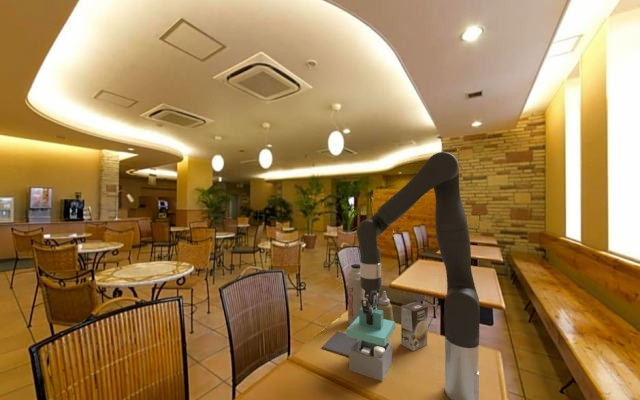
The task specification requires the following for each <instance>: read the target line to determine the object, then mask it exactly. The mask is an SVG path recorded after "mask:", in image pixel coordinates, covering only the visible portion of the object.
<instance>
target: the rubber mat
mask: <svg viewBox="0 0 640 400" xmlns="http://www.w3.org/2000/svg"><path fill="white" fill-rule="evenodd" d="M357 340H358V339H355V338H351V337H347V336H346V332H342V331H336V332H335V333H334V334H332V336H331V337H330V338H329V339H328V340H327V341H326V342H325V343H324V344H323V345H322V346H321V349H322V350H327V351H328V352H333V353H335V354H338V355H341V356H345V357H347V358H349V350H350V349H351V348H352V346H353V345H354V344H355V342H356V341H357Z"/></svg>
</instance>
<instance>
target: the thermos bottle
mask: <svg viewBox="0 0 640 400" xmlns="http://www.w3.org/2000/svg"><path fill="white" fill-rule="evenodd" d="M350 267H351V270H350V271H349V273H348V276H347V298H348V299H347V313H348V315H347V321H348V322H347V323H348V325H349V326H350V325H351V324H352V323H353V322H354V320H355V319H356V318H357V317H358V316H359V309H360V308H361V307H362V304H361V300H364V293H365V290H364V289H362V288H361V287H360V264H359V263H358V264H357V263H356V264H351V265H350Z"/></svg>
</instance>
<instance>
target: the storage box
mask: <svg viewBox="0 0 640 400" xmlns="http://www.w3.org/2000/svg"><path fill="white" fill-rule="evenodd" d="M348 358H349V359H348V361H349V362H348V370H349V371H351V372H353V373H356V374H360V375H362V376H366V377H368V378H371V379H374V380H377V381H381V382H383V381H384V379H385V377H386V375H387V373H388V371H389V369H390V367H391V365H392V362H393V342H389V341H387V343H386V345H385V346H381V345H377V344H374V343H370V342H366V341H362V340H359V339H358V340H357V341H356V342H355V344H354V345H353V346H352V348H351V349H350V350H349V357H348Z"/></svg>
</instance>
